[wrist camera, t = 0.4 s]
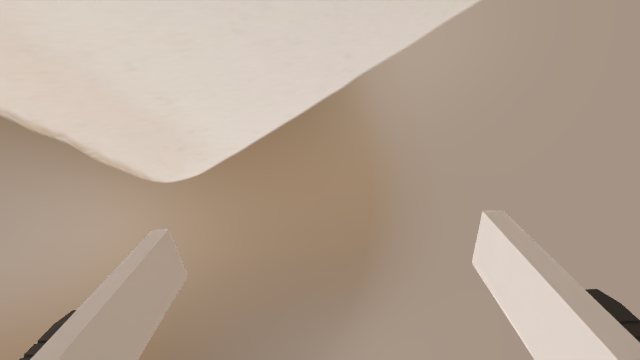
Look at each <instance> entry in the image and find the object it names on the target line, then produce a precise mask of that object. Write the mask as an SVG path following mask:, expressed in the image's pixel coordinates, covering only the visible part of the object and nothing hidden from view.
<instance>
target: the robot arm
mask: <svg viewBox="0 0 640 360" xmlns="http://www.w3.org/2000/svg"><path fill="white" fill-rule="evenodd" d="M472 264H473V266H474V267H475V269H476V270H477V272H478V273H479V275H480V276H481V278H482V279H483V281H484V283H485V284H486V286H487V287H488V289H489V290H490V292H491V293H492V295H493V296H494V298H495V299H496V301H497V302H498V304H499V306H500V307H501V308H502V310H503V312H504V313H505V315H506V316H507V318H508V319H509V321H510V323H511V324H512V326H513V327H514V329H515V330H516V332H517V333H518V335H519V336H520V338H521V339H522V341H523V343H524V344H525V346H526V347H527V349H528V350H529V352H530V353H531V355H532V356H533V358H534V360H640V320H639V319H638V318H636V317H635V316H634V315H633V314H632V313H631V312H630V311H629V310H628V309H626V308H625V307H624V306H623V305H622V304H621V303H619V302H617V301H616V300H614V299H613V298H611V297H609V296H608V295H606V294H604V293H603V292H601V291H599V290H598V289H590V290H585V289H584V288H583V287H582V286H580V284H579V283H577V282H576V281H575V280H574V279H573V278H572V277H571V276H570V275H569V274H568V273H567V272H566V271H565V270H564V269H563V268H562V267H561V266H560V265H559V264H558V263H557V262H556V261H555V260H554V259H553V258H552V257H551V256H549V255H548V254H547V253H546V252H545V251H544V250H543V249H542V248H541V247H540V246H539V245H538V244H537V243H536V242H535V241H534V240H533V239H532V238H531V237H530V236H529V235H528V234H527V233H526V232H525V231H523V229H522V228H520V227H519V226H518V225H517V224H516V223H515V222H514V221H513V220H512V219H511V218H510V217H509V216H508V215H507V214H506V213H505V212H504V211H503V210H492V211H482V216H481V221H480V226H479V231H478V236H477V240H476V245H475V251H474V255H473V260H472ZM187 277H188V275H187V272H186V270H185V267H184V265H183V262H182V260H181V258H180V255H179V252H178V250H177V248H176V245H175V243H174V240H173V238H172V235H171V233H170V230H169V229H160V230H152V231H151V232H150V233H149V234H148V235H147V236H146V237H145V238H144V239H143V240H142V241H141V242H140V243H139V244H138V245H137V247H136V248H135V249H134V250H133V251H132V252H131V253H130V254H129V255H128V256H127V257H126V258H125V259H124V260H123V261H122V263H120V265H119V266H118V267H117V268H116V269H115V270H114V271H113V272H112V273H111V274H110V275H109V276H108V277H107V278H106V279H105V281H104V282H103V283H102V284H101V285H100V286H99V287H98V288H97V289H96V290H95V291H94V292H93V293H92V294H91V295H90V297H89V298H88V299H87V300H86V301H85V302H84V303H83V304H82V305H81V306H80V307H79V308H78V309H77V310H73V311H71V312H70V313H69V314H67V315H66V316H65V317H63V318H62V319H60V320H59V321H58V322H56V323H55V324H54V325H53V326H52V327H51V328H50V329H49V330H48V331H47V332H46V333H45V334H44V335H43V336H42V337H41V338H40V339H39V340H38V343H37V344H34V345H33V346H32V347H31V348H30V349H29V350H28V352H26V353H25V354H24V358H21V359H20V360H138V359H139V357H140V355H141V353H142V352H143V350H144V349H145V347H146V345H147V344H148V342H149V340H150V339H151V337H152V335H153V334H154V332H155V330H156V329H157V327H158V325H159V324H160V322H161V320H162V319H163V317H164V315H165V314H166V312H167V310H168V309H169V307H170V305H171V303H172V302H173V300H174V299H175V297H176V295H177V293H178V292H179V290H180V289H181V287H182V285H183V284H184V282H185V280H186V279H187Z"/></svg>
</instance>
